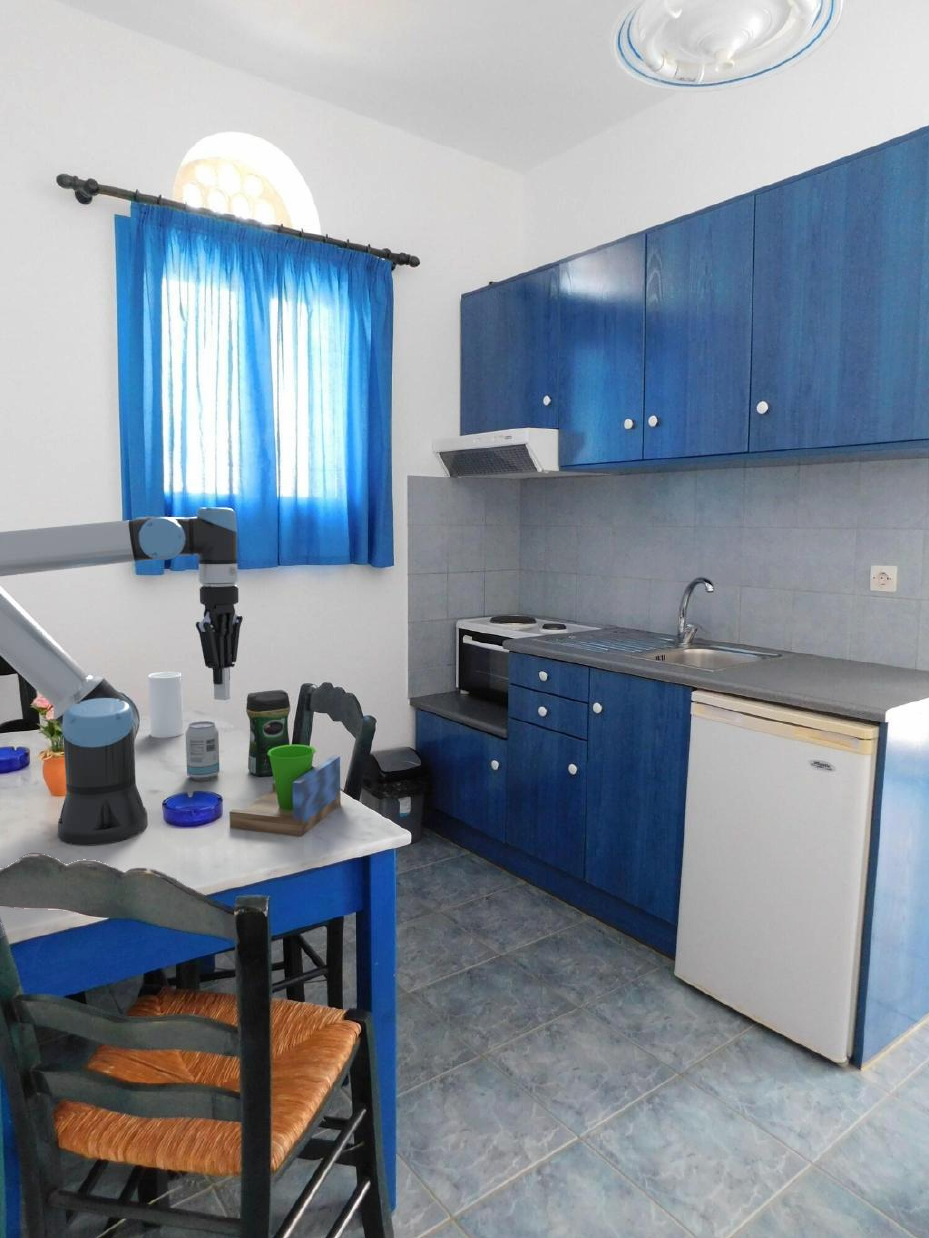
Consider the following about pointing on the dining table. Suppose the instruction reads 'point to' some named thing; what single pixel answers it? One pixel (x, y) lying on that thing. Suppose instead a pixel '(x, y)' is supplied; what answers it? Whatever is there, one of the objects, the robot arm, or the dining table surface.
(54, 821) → the dining table surface
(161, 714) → the cup
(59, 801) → the dining table surface
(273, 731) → the coffee jar
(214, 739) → the beverage can
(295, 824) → the wooden display stand
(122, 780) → the robot arm
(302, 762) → the cup
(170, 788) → the dining table surface
